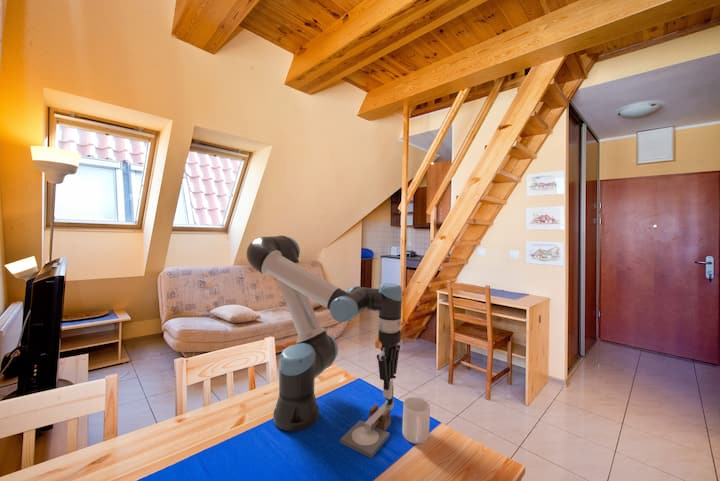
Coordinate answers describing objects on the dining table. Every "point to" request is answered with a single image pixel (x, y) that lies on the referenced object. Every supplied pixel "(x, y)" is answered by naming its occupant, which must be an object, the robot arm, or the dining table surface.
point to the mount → (385, 418)
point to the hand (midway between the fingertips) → (387, 397)
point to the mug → (416, 420)
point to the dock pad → (364, 439)
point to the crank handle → (378, 414)
